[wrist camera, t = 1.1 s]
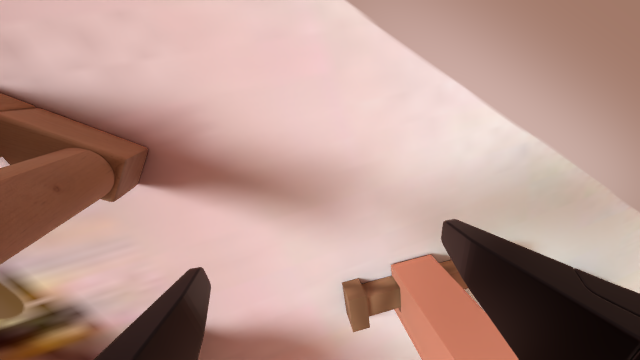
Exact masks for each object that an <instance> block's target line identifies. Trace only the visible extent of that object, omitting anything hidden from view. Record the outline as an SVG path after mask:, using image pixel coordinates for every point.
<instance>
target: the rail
mask: <svg viewBox="0 0 640 360" xmlns="http://www.w3.org/2000/svg"><path fill="white" fill-rule="evenodd" d="M439 264H440V265H441V266H442V267H443V268H444V269H445V270H446V271H447V272H448V273H449V274H450V276H451V277H452V278H453V279H454V280H455V281H456V282H457V283H458V284H459V285H460V286H461V287H462V288H463V289H466V288H468V287H467V285H466V284H465V282H464V281H463V279H462V277H461V276H460V274H459V272H458V270H457V269H456V267H455V265H454V263H453V261H452V260H449V261H445V262H441V263H439ZM342 285H343V292H344V298H345V304H346V311H347V315H348V318H349V321H350V324H351V327H352V330H353V332H356V331H359V330H363V329H366V328H369V327H370V324H369V316H372V315H375V314H379V313H382V312H386V311H389V310H393V309H396V308H400V307H401V295H400V287H399V285H398V284H397V282H396V281H395V279H394V278H393V276H390V277H386V278H382V279H378V280H375V281H371V282H367V283H364V284H361V283H360V281H359V278H358V279H354V280H350V281H347V282H343V283H342Z"/></svg>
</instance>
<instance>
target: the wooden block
mask: <svg viewBox="0 0 640 360" xmlns="http://www.w3.org/2000/svg"><path fill="white" fill-rule="evenodd" d="M147 153H148V148H146V147H144V146H141V145H139V144H136V143H133V142H131V141H128V140H125V139H123V138H120V137H117V136H114V135H112V134H109V133H106V132H104V131H101V130H98V129H96V128H93V127H90V126H87V125H85V124H82V123H79V122H77V121H74V120H71V119H69V118H66V117H63V116H60V115H58V114H55V113H52V112H50V111H47V110H44V109H40V108H36V107H35V106H34V105H31V104H28V103H26V102H23V101H20V100H18V99H15V98H12V97H10V96H7V95H4V94H1V93H0V157H3V158H4V159H5V160H6V161H7V162H8V163H9V164H10V166H6V167H3V168H0V264H2V263H3V262H5V261H6V260H8V259H9V258H11V257H12V256H14V255H15V254H17V253H18V252H20V251H21V250H23V249H25V248H26V247H28V246H29V245H31V244H32V243H34V242H35V241H37V240H38V239H40V238H41V237H43V236H44V235H46V234H47V233H49V232H50V231H52V230H53V229H55V228H56V227H58V226H59V225H61V224H63V223H64V222H66V221H67V220H69V219H70V218H72V217H73V216H75V215H76V214H78V213H79V212H81V211H82V210H84V209H85V208H87V207H88V206H90V205H91V204H93V203H94V202H96V201H97V200H99V199H102V200H106V201H109V202H114V201H116V200H117V199H119V198H120V197H121V196H123V195H124V194H125V193H127V192H128V191H130V190H131V189H132V188H134V187H135V186H136V185H137V184H138V182H139V179H140V176H141V172H142V169H143V166H144V163H145V160H146V156H147Z"/></svg>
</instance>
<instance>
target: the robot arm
mask: <svg viewBox="0 0 640 360" xmlns="http://www.w3.org/2000/svg"><path fill="white" fill-rule="evenodd" d="M441 240H442V243H443V245H444V247H445V249H446V251H447V253H448V254H449V256H450V258H451V260H452V261H453V263H454V265H455V267H456V269H457V270H458V272H459V274H460V276H461V277H462V279H463V281H464V282H465V284H466V285H467V287H468V288H469V289H470V291H471V292H472V294H473V295H474V297H475V298H476V299H477V301H478V302H479V304H480V305H481V306H482V308H483V309H484V311H485V312H486V314H487V315H488V316H489V318H490V319H491V321H492V322H493V324H494V325H495V326H496V328H497V329H498V331H499V332H500V334H501V335H502V336H503V338H504V339H505V341H506V342H507V344H508V345H509V346H510V348H511V349H512V351H513V352H514V353H515V355H516V356H517V358H518V359H519V360H640V293H637V292H634V291H631V290H629V289H626V288H623V287H621V286H618V285H615V284H613V283H610V282H608V281H605V280H603V279H600V278H598V277H595V276H593V275H590V274H588V273H586V272H583V271H581V270H578V269H573V267H571V266H568V265H566V264H564V263H561V262H559V261H556V260H554V259H551V258H549V257H547V256H544V255H542V254H539V253H537V252H534V251H532V250H529V249H527V248H525V247H522V246H520V245H517V244H515V243H512V242H510V241H508V240H505V239H503V238H500V237H498V236H495V235H493V234H491V233H488V232H486V231H483V230H481V229H478V228H476V227H474V226H471V225H469V224H466V223H464V222H461V221H459V220H456V219H452V220H446V221H444V222H443V227H442V236H441ZM210 291H211V284H210V281H209V279H208V277H207V275H206V273H205V271H204V269H203V268H202V267H198V268H192V269H189V270H188V271H187V272H186V273H185V274H184V275H183V276H182V277H181V278H180V279H178V280H177V281H176V282H175V283H174V284H173V285H172V286H171V287H170V288H169V289H168V290H167V291H166V292H165V293H164V294H163V295H162V296H161V297H159V298H158V299H157V300H156V301H155V302H154V303H153V304H152V305H151V306H150V307H149V308H148V309H147V310H146V311H145V312H144V313H143V314H142V315H140V316H139V317H138V318H137V319H136V320H135V321H134V322H133V323H132V324H131V325H130V326H129V327H128V328H127V329H126V330H125V331H124V332H123V333H121V334H120V335H119V336H118V337H117V338H116V339H115V340H114V341H113V342H112V343H111V344H110V345H109V346H108V347H107V348H106V349H105V350H103V351H102V352H101V353H100V354H99V355H98V356H97V357H96V358H95V359H94V360H198V356H199V352H200V348H201V344H202V340H203V336H204V331H205V325H206V319H207V312H208V305H209V298H210Z"/></svg>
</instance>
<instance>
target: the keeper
mask: <svg viewBox="0 0 640 360" xmlns="http://www.w3.org/2000/svg"><path fill="white" fill-rule="evenodd" d="M391 271H392V276H393V278H394V279H395V281H396V282H397V284H398V285H399V287H400V295H401V307H400V308H396V309H394V310H395V311H396V313H397V315H398V317H399V319H400V321H401V322H402V324H403V326H404V328H405V330H406V331H407V333H408V335H409V337H410V339H411V340H412V342H413V344H414V346H415V348H416V350H417V351H418V353H419V355H420V357H421V359H422V360H519V359H518V358H517V356H516V355H515V353H514V352H513V351H512V349H511V348H510V346H509V345H508V344H507V342H506V341H505V339H504V338H503V336H502V335H501V334H500V332H499V331H498V329H497V328H496V326H495V325H494V324H493V322H492V321H491V319H490V318H489V316H488V315H487V314H486V313H485V312H484V310H483V309H482V308H481V307H480V306H479V305H478V304H477V303H476V302H475V301H474V300H473V299H472V298H471V297H470V296H469V295H468V294H467V292H466V291H465V290H464V289H463V288H462V287H461V286H460V285H459V284H458V283H457V282H456V281H455V280H454V279H453V278H452V277H451V276H450V274H449V273H448V272H447V271H446V270H445V269H444V268H443V267H442V266H441V265H440V264H439V263H438V262H437V261H436V260H435V259H434V258H433V257H432V255H427V256H423V257H419V258H416V259H412V260H408V261H404V262H401V263H397V264H393V265H391Z"/></svg>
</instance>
